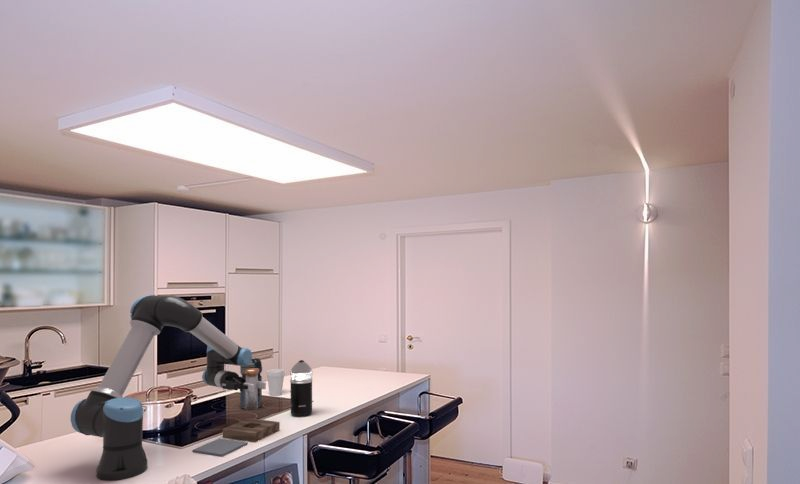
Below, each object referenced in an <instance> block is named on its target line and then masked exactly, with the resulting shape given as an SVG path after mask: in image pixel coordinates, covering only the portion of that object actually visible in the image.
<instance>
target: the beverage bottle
mask: <svg viewBox="0 0 800 484" xmlns="http://www.w3.org/2000/svg"><path fill="white" fill-rule="evenodd" d="M249 368H258V369H259V373H258V379H261V382H263V381H262V380H263V379H262V378H263V377H262V375H261V373H262V372H263V366H262V360H261V359H260V358H258V357H254V358H252V359H251V361H250V363H249V364H248V365H245V366H242V365H241V366H240V371H239V372H240V374H241V377H243V378H246V374H244V370H245V369H249ZM262 390H263V389H260V388H258V408H260V407H261V406H262V403H263V402H262V401H263V400H262V397H263V396H262V393H263V391H262ZM239 393H240V395H239V396H240V397H239V402H240V405H239V406H240V407H241V409H244V410H246V390H244V389H243V391H242V392H240V391H239Z"/></svg>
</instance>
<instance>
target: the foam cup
mask: <svg viewBox="0 0 800 484" xmlns="http://www.w3.org/2000/svg"><path fill="white" fill-rule="evenodd" d="M266 378H267V384H268V392H269V396H270V397H279V396H282V393H283V387H284V378H285V369H283V368H271V369H268V370H266Z"/></svg>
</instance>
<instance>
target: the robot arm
mask: <svg viewBox="0 0 800 484" xmlns="http://www.w3.org/2000/svg"><path fill="white" fill-rule="evenodd" d="M130 319H131V320H130V321H129V324H130V327H131V328H130V329H129V331H128V334H127V335H126V337H125V339H124V340H123V342H122V344H121V345H120V348H119V349H118V351H117V353H116V355H115V357H114V358H113V359H112V362H111V363H110V365H109V367H108V369H107V371H106V372H105V374H104V376H103V378H102V380H101V381H100V383H99V385H98V386H97V387H96V388H93V389H92V390H90V392H89V393H88V395H87V397H86V398H84V399H82V400H80V401H78V402H76V404H75V405H74V407H72V410H71V413H70V423H71V427H72V428H73V429H74V430H75V432H77V433H79V434H82V435H85V436H93V437H98V438H102V439H103V440H102V445H103V446H102V454H101V456H100V459H99V462H98V465H97V467H96V473H95V474H96V478H97V479H99V480H103V481H117V480H122V479H123V480H124V479H128V478H131V477H135V476H138V475H140V474H142V473H144V472H145V471H146V470H148V464H149V463H148V458H147V456H146V452H145V450H144V447H143V427H144V426H143V424H144V423H143V422H144V409H143V404H142V401H141V400H139V399H138V398H134V397H123V395H124V393H125V391H126V389H127V387H128V386H129V385H130V382H131V380H132V378H133V376H134V374H135V372H136V370H137V369H138V367H139V365H140V363H141V361H142V359H143V358H144V355H145V354H146V352H147V350H148V348H149V346H150V344H151V342H152V341H153V339H154V337H155V336H158V335H160V333H162V330H163V328H164V327H173V328H178V329H180V330H181V331H183V332H185V333H189V334H192V336H195V337H196V338H197V339H199V340H200V342H202V343H204V344H205V345H207V346H206V368H205V370H203V372H202V374H201V375H202V376H201V379H202V382H203V383H205V384H206V385H208V386H210V387H216V388H220V389H222V390H228V391H233V390H234V391H238V390H239V393H240V392H242V391H243V389H244V390H247V391H251V392H254V385H253V384H249V383H246V378H243V377H242V376H239V374H238V372H235V371H230V370H225V365H229V366H230V365H232V366H241V365H242V366H245V365H248V364H249V363H250V361H251V359H253V352H252V350H251V349H250V348H248V347H247V348H246V347H241V346H239V345H238V344H237V343H236V342H235V341H233V339H231V338H230V337H228V336H227V335H226V334H225V333H223V332H222V331H221V330H220V329H218V328H217V327H216V326H215V325H214V324H212V323H211V322H210V321H209V320H207V319H206V318H205V317H203V313H202V311H200V310H199V309H198V308H197V307H196V306H194V305H193V304H191V303H190V302H189V301H187V300H185V299H184V298H181V297H179V296H175V295H157V294H154V295H153V294H149V295H144V296H141V297H139V298H138V299H136V300H135V301H134V302H133V304H132V305H131V308H130ZM266 385H267V383H266V381H262V382H261V379H258V388H260V389H262V390H266V389H267V386H266Z"/></svg>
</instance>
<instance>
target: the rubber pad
mask: <svg viewBox="0 0 800 484" xmlns="http://www.w3.org/2000/svg"><path fill="white" fill-rule="evenodd" d="M248 443H249V441H242V440H235V439H228V438H220V437H219V438H217V439H215V440H212V441H210V442H208V443H205V444H203V445H200V446H197V447H196V448H194V449H192V453H195V454H196V453H197V454H202V455H203V454H204V455H209V456H216V457H221V456H222V457H223V458H224V457H225V456H226V455H230V453H233V452H235V451H237V450H239V449H241V447H242V448H243V446H244V447H246V446H248V445H249V444H248ZM247 444H248V445H247Z"/></svg>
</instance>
